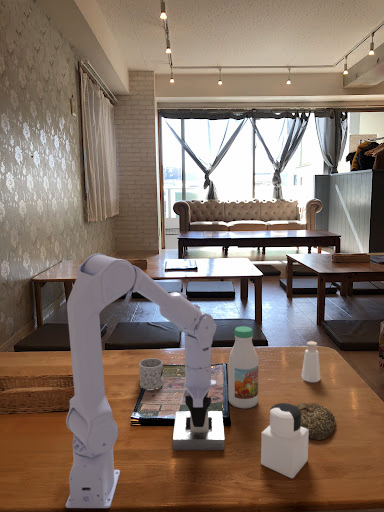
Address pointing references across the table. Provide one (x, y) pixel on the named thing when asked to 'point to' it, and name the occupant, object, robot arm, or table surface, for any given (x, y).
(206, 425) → the plug
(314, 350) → the salt shaker
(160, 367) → the mug
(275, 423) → the medicine bottle
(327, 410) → the bread roll
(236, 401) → the milk bottle
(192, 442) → the socket
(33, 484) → the table surface
